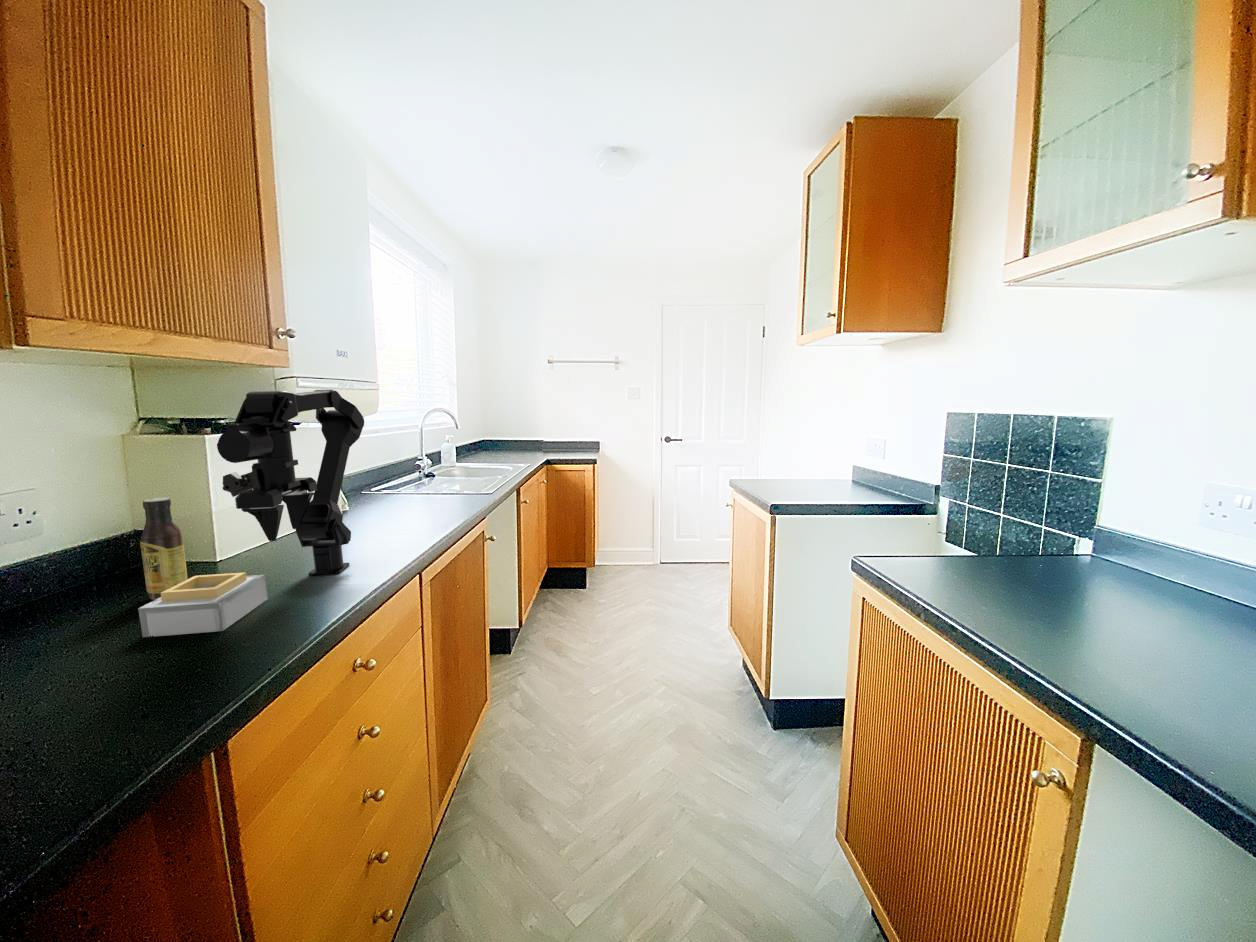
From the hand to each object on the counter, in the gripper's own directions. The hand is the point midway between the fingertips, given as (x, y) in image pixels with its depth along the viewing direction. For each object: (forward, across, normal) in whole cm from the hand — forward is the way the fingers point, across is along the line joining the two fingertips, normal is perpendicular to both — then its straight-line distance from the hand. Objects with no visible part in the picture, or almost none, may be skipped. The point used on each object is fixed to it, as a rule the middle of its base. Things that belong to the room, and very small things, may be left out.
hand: (284, 534), depth 102 cm
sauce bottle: (+12, -3, -24) cm, 27 cm away
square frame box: (+12, +10, -9) cm, 18 cm away
